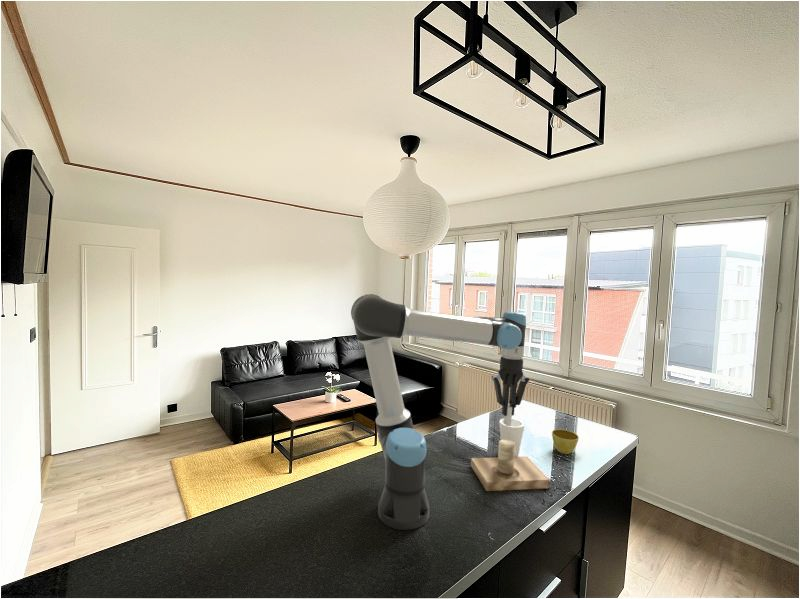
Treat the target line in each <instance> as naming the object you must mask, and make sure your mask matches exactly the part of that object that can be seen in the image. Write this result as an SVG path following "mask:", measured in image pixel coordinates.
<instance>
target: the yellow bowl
mask: <svg viewBox="0 0 800 599" xmlns="http://www.w3.org/2000/svg"><path fill="white" fill-rule="evenodd" d="M551 438H552V441H553V444H554V447H555V449H556V450H557V452H559V453H561V454H564V455H570V454H571V453H572V452H573V451H574V450H575V449H576V447H577V444H578V442H579V438H580V437H579V435H578V434H577V433H575V432H574V431H570V430H567V429H560V428H559V429H553V430H552V431H551Z"/></svg>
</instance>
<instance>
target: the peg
mask: <svg viewBox="0 0 800 599" xmlns="http://www.w3.org/2000/svg"><path fill="white" fill-rule="evenodd" d="M497 454H498V455H497V457H498V466H497V471H498V473H500V474H502V475H505V476H511V475H513V472H514V454H515V443H514V442H513V441H510V440H501V439H499V441H498V452H497Z"/></svg>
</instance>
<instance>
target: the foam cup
mask: <svg viewBox="0 0 800 599" xmlns="http://www.w3.org/2000/svg"><path fill="white" fill-rule="evenodd" d="M498 427H499V431H500V433H499V435H500V440H510V441H513V442H514V443H515V454H514V457H519V454H520V449H521V445H522V440H523V433H524V431H525V423H524V422H523V421H522V420H520V419H517V418H512V417H511V426H506V425H505V424H504V417H503V418H500V419H499V426H498Z"/></svg>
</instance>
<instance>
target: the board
mask: <svg viewBox="0 0 800 599" xmlns="http://www.w3.org/2000/svg"><path fill="white" fill-rule="evenodd" d="M497 466H498V456H497V457H472V458H470V467H471V468H472V470H473V472H474V473H475V475H476V476H477V478H478V479H479V481H480V483H481V484H482V486H483V488H484V489H485V491H486V492H493V491H494V492H495V491H514V490H515V491H516V490H520V491H521V490H537V489H539V490H540V489H549V488H550V478H548V476H547V475H546V474H544V472H543V471H542V470H540V468H539V467H538V466H537V465H536V464H535V463H534V462H533V461H532V460H531V458H529V457H528V456H525V455H524V456H518V457H514V472H513V475H511V476H505V475H502V474H500V473H498V471H497Z"/></svg>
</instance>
